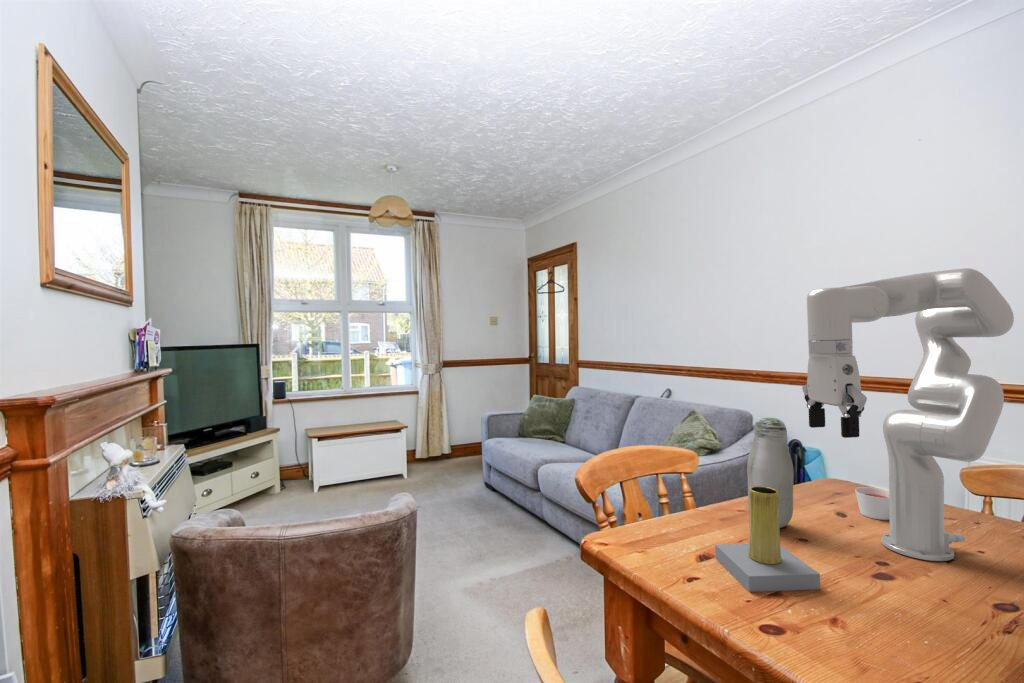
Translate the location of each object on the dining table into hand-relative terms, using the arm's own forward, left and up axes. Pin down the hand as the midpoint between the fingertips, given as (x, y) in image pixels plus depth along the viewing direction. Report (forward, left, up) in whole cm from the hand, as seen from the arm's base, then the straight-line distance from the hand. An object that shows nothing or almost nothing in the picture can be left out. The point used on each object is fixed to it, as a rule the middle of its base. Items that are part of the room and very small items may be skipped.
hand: (833, 431), depth 97 cm
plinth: (+14, -2, -29) cm, 32 cm away
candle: (-33, -30, -30) cm, 53 cm away
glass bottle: (-1, -25, -30) cm, 39 cm away
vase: (+14, -2, -27) cm, 30 cm away
